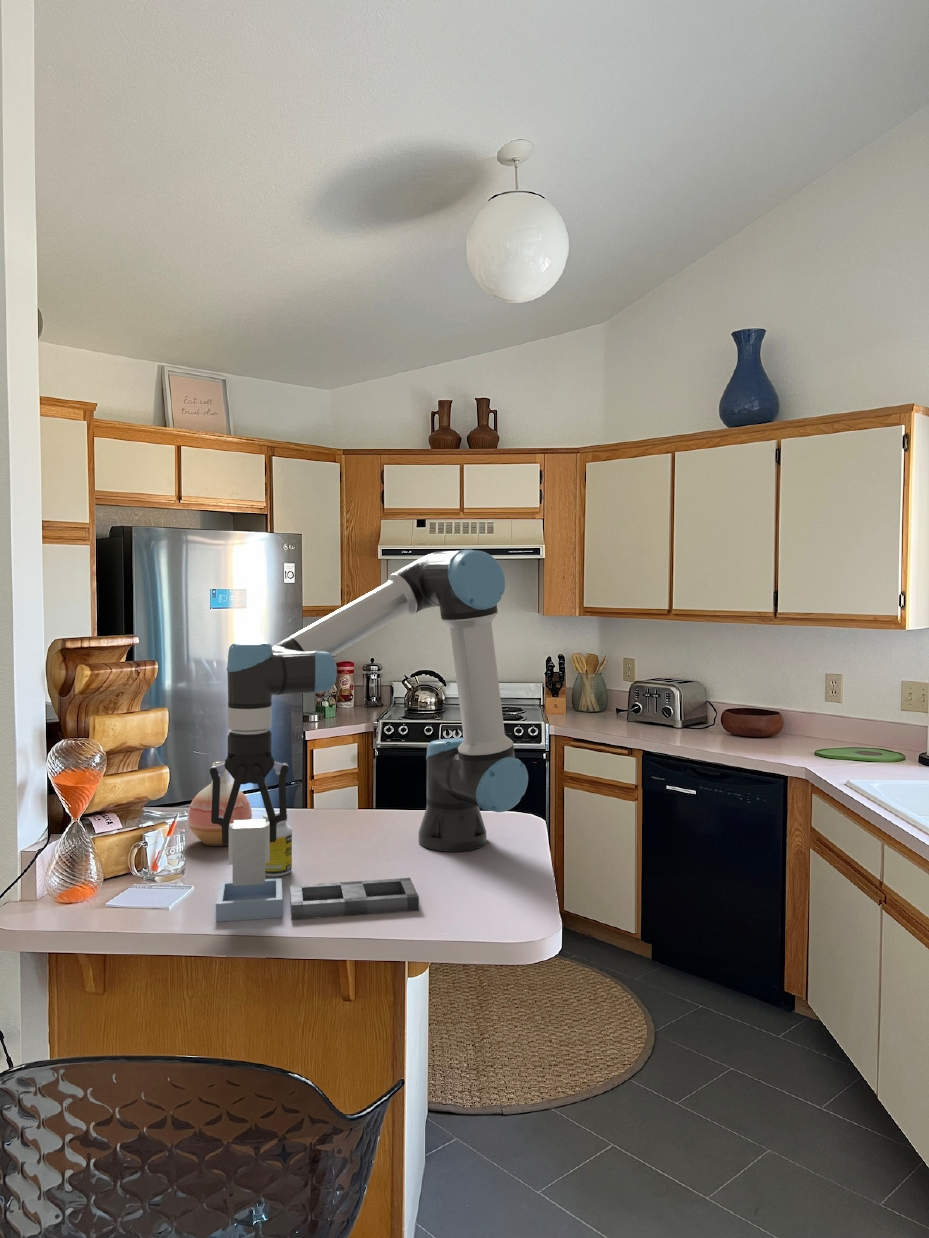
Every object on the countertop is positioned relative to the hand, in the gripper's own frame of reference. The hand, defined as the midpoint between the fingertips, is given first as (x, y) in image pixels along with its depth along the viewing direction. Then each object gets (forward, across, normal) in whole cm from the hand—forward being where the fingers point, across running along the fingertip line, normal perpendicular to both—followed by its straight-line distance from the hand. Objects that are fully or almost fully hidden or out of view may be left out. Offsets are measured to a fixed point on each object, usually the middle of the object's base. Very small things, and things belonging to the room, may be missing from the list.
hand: (249, 860), depth 156 cm
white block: (+3, 0, 0) cm, 3 cm away
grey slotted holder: (+8, -18, +2) cm, 20 cm away
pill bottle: (+9, -5, -19) cm, 21 cm away
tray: (+8, 0, 0) cm, 8 cm away
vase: (+9, +7, -42) cm, 43 cm away
